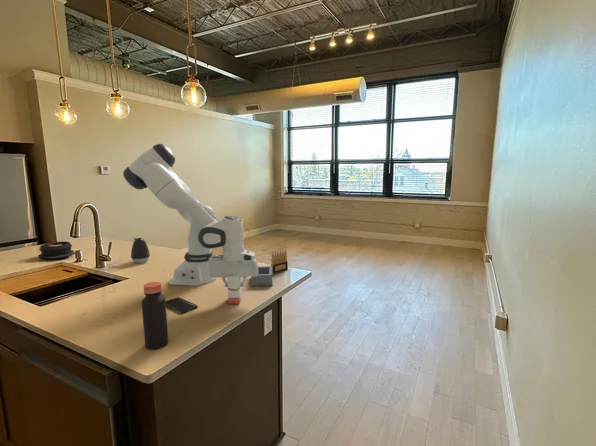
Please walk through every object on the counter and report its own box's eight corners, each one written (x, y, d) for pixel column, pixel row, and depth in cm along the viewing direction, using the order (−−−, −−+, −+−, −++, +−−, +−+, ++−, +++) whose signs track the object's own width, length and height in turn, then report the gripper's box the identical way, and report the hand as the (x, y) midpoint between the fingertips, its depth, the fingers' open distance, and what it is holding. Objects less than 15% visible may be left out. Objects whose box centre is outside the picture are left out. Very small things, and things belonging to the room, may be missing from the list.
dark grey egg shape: (144, 259, 197) (142, 235, 195) (153, 261, 191) (151, 237, 189) (128, 262, 189) (125, 238, 186) (136, 265, 183) (134, 240, 180)
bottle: (150, 352, 95) (145, 290, 92) (141, 344, 100) (136, 284, 97) (172, 343, 100) (168, 284, 97) (162, 336, 105) (158, 279, 102)
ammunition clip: (272, 274, 169) (272, 252, 167) (270, 273, 171) (270, 251, 169) (287, 270, 176) (287, 249, 174) (285, 269, 178) (285, 248, 176)
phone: (178, 296, 136) (198, 305, 127) (178, 299, 136) (198, 308, 127) (160, 302, 130) (181, 312, 121) (160, 305, 130) (181, 315, 121)
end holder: (251, 286, 151) (251, 275, 150) (253, 276, 164) (252, 266, 163) (272, 285, 151) (272, 274, 151) (272, 276, 165) (272, 266, 164)
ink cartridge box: (240, 304, 130) (238, 270, 128) (228, 304, 130) (226, 270, 128) (242, 296, 139) (240, 263, 136) (230, 296, 138) (229, 264, 136)
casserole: (35, 255, 204) (33, 243, 203) (69, 250, 218) (68, 238, 216) (42, 263, 187) (40, 249, 186) (79, 257, 201) (78, 244, 200)
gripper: (206, 257, 127) (208, 289, 129) (257, 256, 129) (258, 288, 131) (209, 253, 133) (211, 284, 136) (258, 252, 135) (258, 283, 137)
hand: (234, 286), depth 133 cm, fingers closed on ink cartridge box, 5 cm apart
